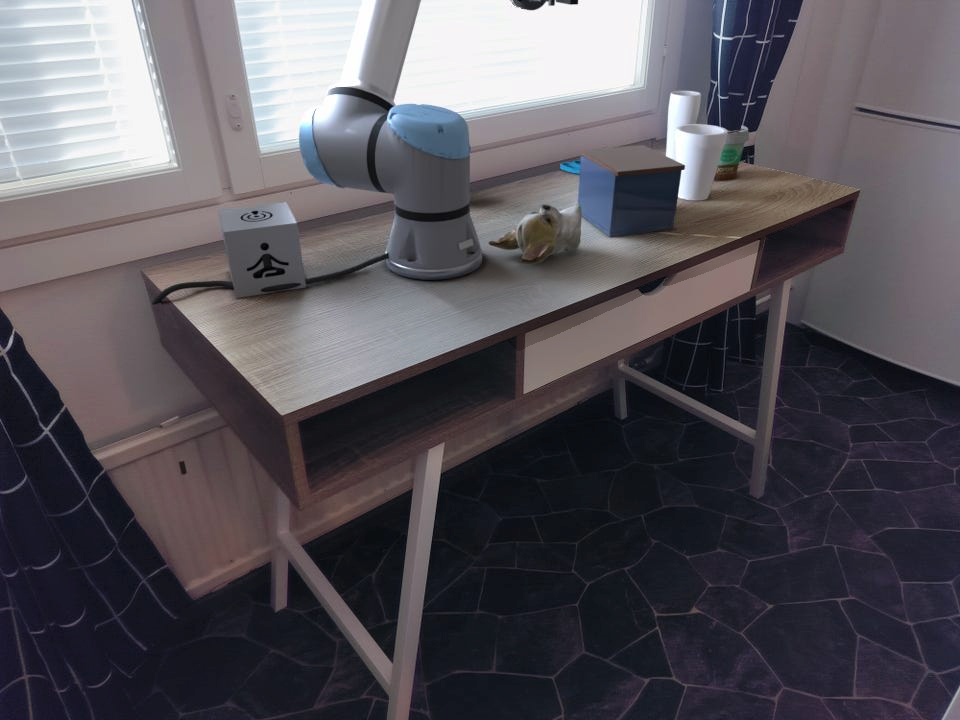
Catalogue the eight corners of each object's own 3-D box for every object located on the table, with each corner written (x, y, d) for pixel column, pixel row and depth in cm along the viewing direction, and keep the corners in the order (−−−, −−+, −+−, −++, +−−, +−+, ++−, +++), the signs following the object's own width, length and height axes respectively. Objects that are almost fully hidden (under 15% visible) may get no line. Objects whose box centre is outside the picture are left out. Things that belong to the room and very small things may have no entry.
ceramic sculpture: (601, 204, 111) (521, 226, 105) (599, 255, 116) (523, 280, 110) (560, 187, 119) (484, 207, 113) (560, 235, 124) (487, 258, 117)
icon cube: (229, 272, 111) (217, 210, 106) (294, 263, 114) (286, 202, 109) (236, 298, 103) (223, 232, 98) (306, 287, 106) (297, 222, 101)
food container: (706, 184, 150) (714, 136, 145) (689, 176, 155) (696, 129, 150) (754, 178, 154) (763, 130, 149) (735, 171, 159) (744, 124, 154)
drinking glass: (689, 157, 169) (698, 90, 161) (693, 165, 163) (704, 96, 155) (660, 156, 169) (668, 90, 162) (663, 164, 163) (672, 95, 156)
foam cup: (721, 203, 139) (733, 135, 133) (673, 203, 139) (683, 135, 133) (709, 188, 147) (719, 124, 141) (664, 188, 148) (672, 123, 141)
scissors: (580, 158, 163) (643, 181, 149) (580, 163, 164) (642, 185, 149) (557, 163, 160) (619, 186, 146) (557, 167, 161) (618, 191, 146)
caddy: (673, 229, 127) (682, 168, 121) (609, 237, 124) (615, 175, 118) (636, 205, 138) (642, 149, 133) (576, 212, 135) (580, 155, 129)
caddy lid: (684, 169, 121) (685, 165, 120) (617, 176, 117) (618, 171, 117) (642, 149, 133) (643, 144, 132) (580, 154, 129) (581, 150, 129)
